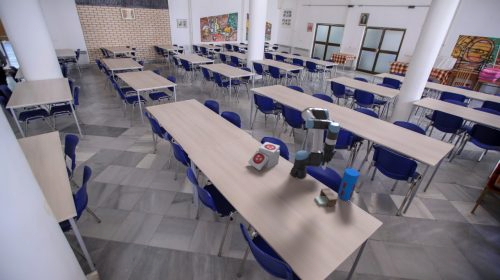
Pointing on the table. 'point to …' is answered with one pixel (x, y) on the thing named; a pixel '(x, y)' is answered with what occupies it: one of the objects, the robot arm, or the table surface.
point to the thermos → (348, 184)
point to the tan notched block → (329, 196)
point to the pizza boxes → (265, 156)
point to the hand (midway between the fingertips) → (323, 168)
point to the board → (321, 200)
